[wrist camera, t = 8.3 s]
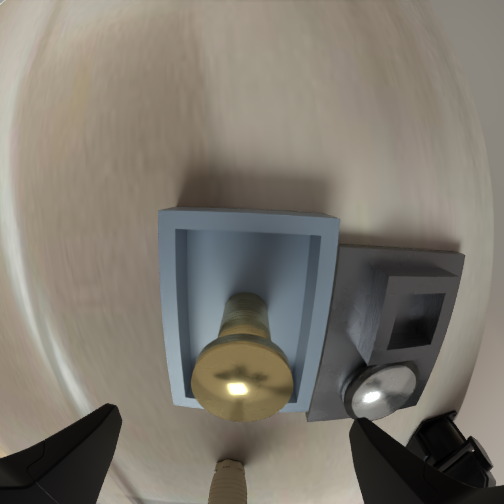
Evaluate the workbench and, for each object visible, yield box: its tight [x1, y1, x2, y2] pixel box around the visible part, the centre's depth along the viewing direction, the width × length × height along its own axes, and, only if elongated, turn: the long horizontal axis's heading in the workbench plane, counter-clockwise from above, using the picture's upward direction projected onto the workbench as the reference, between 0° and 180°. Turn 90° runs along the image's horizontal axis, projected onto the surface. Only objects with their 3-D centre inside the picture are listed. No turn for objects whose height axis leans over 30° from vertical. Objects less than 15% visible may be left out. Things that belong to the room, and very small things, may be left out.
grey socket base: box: [305, 244, 465, 422], centre depth 18 cm, size 12×16×4 cm
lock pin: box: [191, 292, 293, 422], centre depth 15 cm, size 4×4×8 cm
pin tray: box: [158, 207, 340, 412], centre depth 18 cm, size 10×14×4 cm
